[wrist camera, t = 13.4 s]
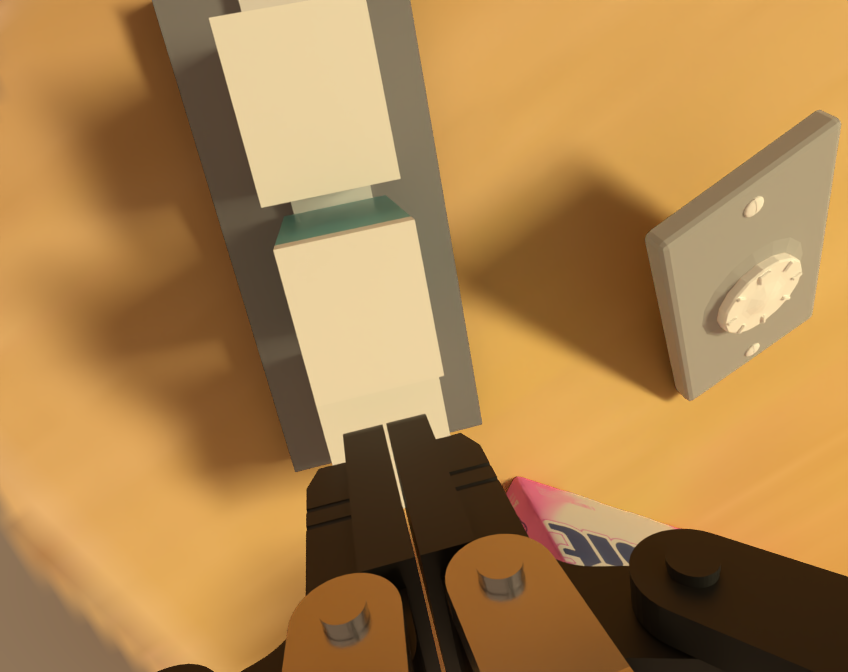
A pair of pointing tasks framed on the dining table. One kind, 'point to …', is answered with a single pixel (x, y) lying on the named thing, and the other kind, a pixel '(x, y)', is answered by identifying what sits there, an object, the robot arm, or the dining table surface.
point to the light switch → (744, 256)
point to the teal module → (358, 298)
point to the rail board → (268, 220)
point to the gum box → (579, 525)
